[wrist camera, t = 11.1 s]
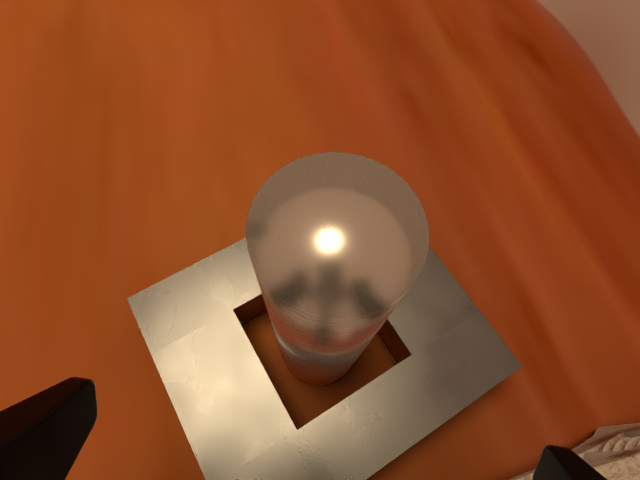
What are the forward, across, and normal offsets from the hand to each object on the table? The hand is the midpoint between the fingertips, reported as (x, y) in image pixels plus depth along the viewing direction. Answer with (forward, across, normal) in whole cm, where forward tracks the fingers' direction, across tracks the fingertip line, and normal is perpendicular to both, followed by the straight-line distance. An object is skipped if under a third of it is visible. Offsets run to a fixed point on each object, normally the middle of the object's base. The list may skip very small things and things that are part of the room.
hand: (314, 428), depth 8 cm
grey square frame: (+12, 0, +6) cm, 14 cm away
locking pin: (+12, 0, +6) cm, 14 cm away
